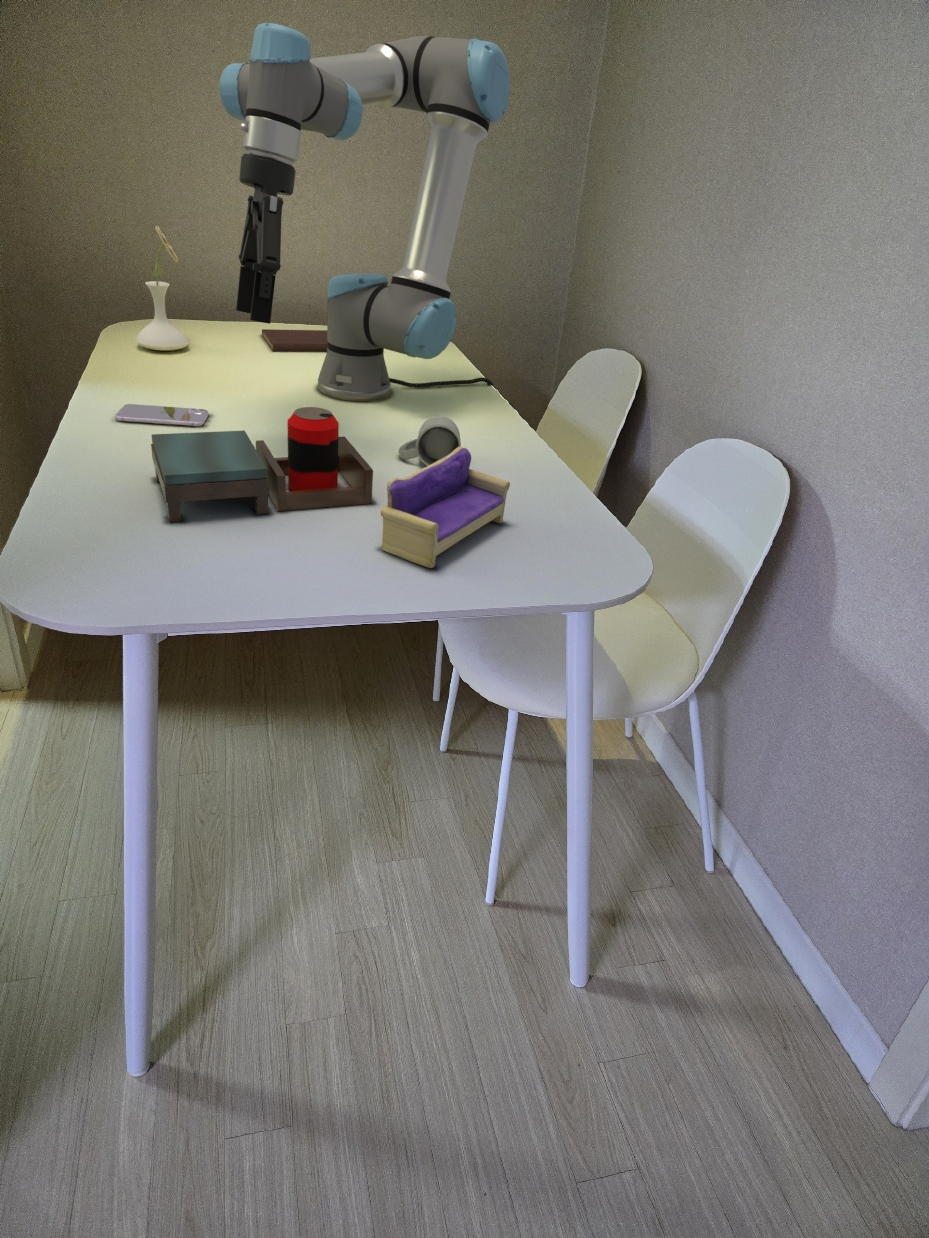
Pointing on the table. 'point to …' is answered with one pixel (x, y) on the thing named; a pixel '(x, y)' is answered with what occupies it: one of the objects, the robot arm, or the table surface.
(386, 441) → the table surface
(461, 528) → the toy sofa
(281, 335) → the notebook
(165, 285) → the flower in vase
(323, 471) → the soda can
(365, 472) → the can rack
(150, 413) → the mobile phone
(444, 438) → the ceramic mug
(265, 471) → the footstool
